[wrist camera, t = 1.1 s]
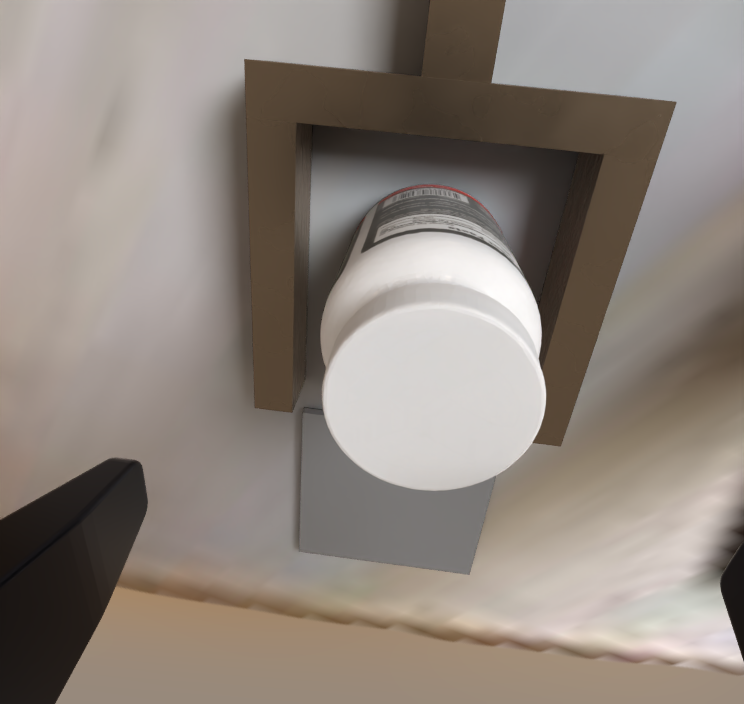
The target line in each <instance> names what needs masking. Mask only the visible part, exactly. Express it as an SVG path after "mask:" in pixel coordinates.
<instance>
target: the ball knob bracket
mask: <svg viewBox="0 0 744 704" xmlns="http://www.w3.org/2000/svg"><path fill="white" fill-rule="evenodd" d="M505 2H506V0H430V6H429V14H428V23H427V31H426V40H425V49H424V57H423V66H422V74H421V76H414V75H404V74H394V73H384V72H374V71H364V70H354V69H344V68H334V67H323V66H313V65H303V64H293V63H283V62H273V61H261V60H248V59H244V62H245V96H246V129H247V163H248V197H249V230H250V264H251V298H252V331H253V365H254V398H255V408H259V409H267V410H275V411H283V412H291V413H292V412H293V410H294V407H295V404H296V402H297V399H298V397H299V394H300V392H301V389H302V387H303V384H304V381H305V372H306V335H307V299H308V262H309V226H310V189H311V152H312V124H315V125H325V126H334V127H344V128H354V129H363V130H373V131H383V132H392V133H402V134H412V135H421V136H431V137H441V138H450V139H460V140H470V141H480V142H489V143H499V144H509V145H518V146H528V147H538V148H547V149H557V150H567V151H576V152H579V155H578V158H577V162H576V166H575V170H574V174H573V177H572V181H571V185H570V189H569V192H568V196H567V200H566V204H565V208H564V211H563V215H562V219H561V223H560V226H559V230H558V234H557V238H556V241H555V245H554V249H553V253H552V257H551V260H550V264H549V268H548V272H547V275H546V279H545V283H544V287H543V291H542V294H541V298H540V302H539V306H538V310H539V314H540V320H541V330H542V337H541V348H540V353H539V358H538V359H539V363H540V367H541V370H542V373H543V376H544V380H545V387H546V406H545V412H544V417H543V420H542V423H541V426H540V429H539V431H538V433H537V435H536V437H535V439H534V441H533V442H532V443H538V444H546V445H554V446H561V444H562V441H563V438H564V435H565V432H566V429H567V426H568V423H569V420H570V417H571V415H572V412H573V409H574V406H575V403H576V400H577V397H578V394H579V391H580V388H581V385H582V382H583V379H584V376H585V373H586V370H587V367H588V364H589V361H590V358H591V355H592V352H593V349H594V346H595V343H596V340H597V337H598V334H599V331H600V328H601V325H602V322H603V319H604V316H605V313H606V310H607V308H608V305H609V302H610V299H611V296H612V293H613V290H614V287H615V284H616V281H617V278H618V275H619V272H620V269H621V266H622V263H623V260H624V257H625V254H626V251H627V248H628V245H629V242H630V239H631V236H632V233H633V230H634V227H635V224H636V221H637V218H638V215H639V212H640V209H641V206H642V204H643V201H644V198H645V195H646V192H647V189H648V186H649V183H650V180H651V177H652V174H653V171H654V168H655V165H656V162H657V159H658V156H659V153H660V150H661V147H662V144H663V141H664V138H665V135H666V132H667V129H668V126H669V123H670V120H671V117H672V114H673V111H674V108H675V105H676V102H672V101H664V100H655V99H647V98H637V97H627V96H617V95H607V94H597V93H587V92H576V91H566V90H556V89H546V88H536V87H526V86H516V85H506V84H495V83H491V81H492V76H493V70H494V64H495V58H496V53H497V47H498V41H499V36H500V30H501V24H502V19H503V13H504V7H505Z"/></svg>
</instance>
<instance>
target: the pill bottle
mask: <svg viewBox="0 0 744 704" xmlns="http://www.w3.org/2000/svg"><path fill="white" fill-rule="evenodd" d="M320 336H321V350H322V356H323V361H324V364H325V367H326V371H325V375H324V379H323V385H322V404H323V412H324V416H325V420H326V423H327V426H328V428H329V430H330V432H331V435H332V436H333V438H334V440H335V441H336V443H337V444H338V446H339V447H340V448H341V450H342V451H343V452H344V453H345V454H346V455H347V456H348V457H349V459H351V460H352V461H353V462H354V463H355V464H356V465H358V466H359V467H360V468H362V469H363V470H364V471H366V472H368V473H370V474H371V475H373V476H375V477H377V478H379V479H381V480H383V481H386V482H388V483H391V484H394V485H398V486H402V487H406V488H410V489H416V490H429V491H438V490H452V489H458V488H463V487H467V486H471V485H474V484H477V483H480V482H483V481H485V480H488V479H490V478H492V477H494V476H496V475H498V474H499V473H501V472H503V471H504V470H506V469H507V468H508V467H510V466H511V465H512V464H513V463H514V462H515V461H517V460H518V459H519V458H520V457H521V456H522V455H523V454H524V453H525V452H526V450H527V449H528V448H529V446H530V445H531V444H532V442H533V441H534V439H535V437H536V435H537V433H538V431H539V429H540V426H541V423H542V420H543V417H544V412H545V406H546V387H545V380H544V376H543V373H542V370H541V367H540V363H539V359H538V358H539V353H540V348H541V337H542V330H541V320H540V314H539V310H538V306H537V303H536V301H535V298H534V296H533V293H532V290H531V288H530V286H529V284H528V282H527V280H526V279H525V277H524V275H523V273H522V271H521V269H520V267H519V265H518V263H517V261H516V259H515V257H514V255H513V253H512V251H511V250H510V248H509V246H508V244H507V242H506V240H505V238H504V236H503V234H502V231H501V229H500V228H499V226H498V224H497V222H496V221H495V219H494V218H493V216H492V215H491V214H490V213H489V211H488V210H487V209H486V208H485V207H484V206H483V205H482V204H481V203H480V202H479V201H477V200H476V199H475V198H473V197H472V196H470V195H468V194H467V193H465V192H463V191H461V190H458V189H455V188H452V187H448V186H444V185H437V184H422V185H415V186H410V187H406V188H403V189H401V190H398V191H396V192H394V193H392V194H390V195H388V196H387V197H385V198H384V199H382V200H381V201H380V202H378V203H377V204H376V205H375V206H374V207H373V208H372V209H371V210H370V211H369V212H368V213H367V215H366V216H365V217H364V219H363V220H362V221H361V223H360V224H359V226H358V228H357V230H356V232H355V234H354V237H353V239H352V242H351V244H350V246H349V249H348V251H347V254H346V256H345V258H344V261H343V263H342V265H341V268H340V270H339V272H338V275H337V277H336V279H335V282H334V284H333V286H332V288H331V291H330V293H329V296H328V298H327V302H326V305H325V308H324V312H323V316H322V322H321V333H320Z"/></svg>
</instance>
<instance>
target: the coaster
mask: <svg viewBox="0 0 744 704" xmlns="http://www.w3.org/2000/svg"><path fill="white" fill-rule="evenodd" d="M495 478H496V476H494V477H492V478H490V479H488V480H485V481H483V482H480V483H477V484H474V485H471V486H467V487H463V488H458V489H452V490H438V491H429V490H416V489H410V488H406V487H402V486H398V485H394V484H391V483H388V482H386V481H383V480H381V479H379V478H377V477H375V476H373V475H371V474H370V473H368V472H366V471H364V470H363V469H362V468H360V467H359V466H358V465H356V464H355V463H354V462H353V461H352V460H351V459H349V457H348V456H347V455H346V454H345V453H344V452H343V451H342V450H341V448H340V447H339V446H338V444H337V443H336V441H335V440H334V438H333V436H332V435H331V432H330V430H329V428H328V426H327V423H326V420H325V416H324V412H323V410H319V409H311V408H304V410H303V419H302V458H301V498H300V537H299V552H306V553H313V554H321V555H328V556H335V557H343V558H350V559H357V560H365V561H372V562H379V563H387V564H394V565H401V566H409V567H416V568H423V569H431V570H438V571H445V572H453V573H460V574H467V575H470V571H471V567H472V564H473V560H474V556H475V552H476V549H477V545H478V541H479V537H480V534H481V530H482V526H483V523H484V519H485V515H486V511H487V508H488V504H489V500H490V496H491V493H492V489H493V485H494V482H495Z"/></svg>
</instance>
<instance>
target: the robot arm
mask: <svg viewBox="0 0 744 704" xmlns="http://www.w3.org/2000/svg"><path fill="white" fill-rule="evenodd" d="M147 504H148V500H147V493H146V486H145V480H144V474H143V468H142V465H141V464H140V462H138V461H136V460H131V459H123V458H111V459H108V460H106V461H104V462H102V463H101V464H99V465H97V466H95V467H93V468H92V469H90V470H88V471H86V472H85V473H83V474H81V475H79V476H77V477H76V478H74V479H72V480H70V481H68V482H67V483H65V484H63V485H61V486H60V487H58V488H56V489H54V490H52V491H51V492H49V493H47V494H45V495H44V496H42V497H40V498H38V499H36V500H35V501H33V502H31V503H29V504H28V505H26V506H24V507H22V508H20V509H19V510H17V511H15V512H13V513H12V514H10V515H8V516H6V517H4V518H3V519H1V520H0V704H55V703H56V701H57V699H58V697H59V696H60V694H61V692H62V690H63V688H64V686H65V685H66V683H67V681H68V679H69V677H70V675H71V674H72V672H73V670H74V668H75V666H76V664H77V662H78V661H79V659H80V657H81V655H82V653H83V651H84V650H85V648H86V646H87V644H88V642H89V640H90V639H91V637H92V635H93V633H94V631H95V629H96V627H97V625H98V624H99V622H100V620H101V618H102V616H103V614H104V612H105V609H106V607H107V605H108V603H109V600H110V598H111V596H112V594H113V591H114V589H115V587H116V584H117V582H118V579H119V577H120V575H121V572H122V570H123V567H124V565H125V563H126V560H127V558H128V556H129V553H130V551H131V548H132V546H133V544H134V541H135V539H136V536H137V534H138V532H139V529H140V527H141V524H142V522H143V520H144V517H145V514H146V511H147ZM720 586H721V593H722V596H723V599H724V602H725V605H726V608H727V611H728V615H729V618H730V621H731V624H732V627H733V630H734V633H735V636H736V639H737V642H738V645H739V648H740V651H741V655H742V658H743V661H744V542H743V543H742V544H741V545H740V547H739V548H738V550H737V551H736V553H735V555H734V556H733V558H732V559H731V561H730V562H729V564H728V566H727V567H726V569H725V570H724V572H723V574H722V576H721V582H720Z"/></svg>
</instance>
